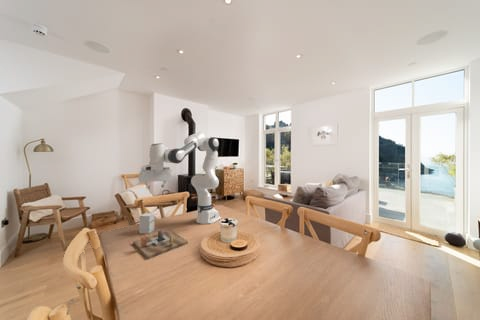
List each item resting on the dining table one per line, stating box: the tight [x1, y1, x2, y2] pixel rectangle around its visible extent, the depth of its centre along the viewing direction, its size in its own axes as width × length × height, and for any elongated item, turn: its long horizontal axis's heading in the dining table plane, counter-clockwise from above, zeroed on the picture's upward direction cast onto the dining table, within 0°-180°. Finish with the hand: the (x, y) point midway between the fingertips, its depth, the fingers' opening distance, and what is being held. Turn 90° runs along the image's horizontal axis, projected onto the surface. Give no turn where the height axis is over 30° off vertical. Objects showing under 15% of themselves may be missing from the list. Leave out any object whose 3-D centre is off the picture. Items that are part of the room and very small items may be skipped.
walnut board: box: [132, 229, 189, 260], centre depth 113 cm, size 24×24×8 cm
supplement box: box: [138, 212, 155, 235], centre depth 131 cm, size 7×7×13 cm
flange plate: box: [140, 234, 170, 247], centre depth 110 cm, size 16×9×6 cm, turn 137°
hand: (155, 188), depth 120 cm, fingers open, 8 cm apart
